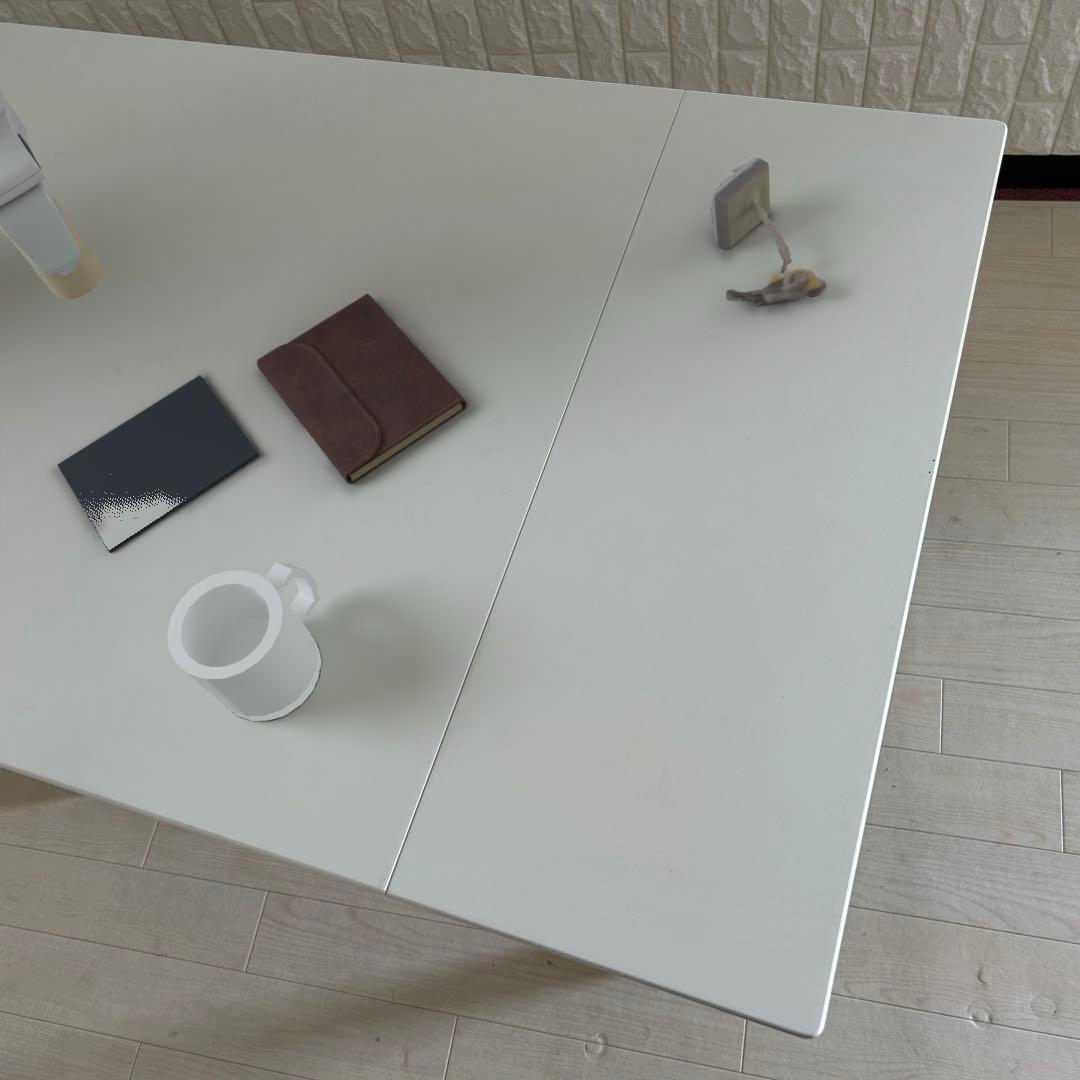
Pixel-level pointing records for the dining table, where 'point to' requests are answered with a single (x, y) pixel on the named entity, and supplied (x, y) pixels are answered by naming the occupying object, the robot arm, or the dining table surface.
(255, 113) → the dining table surface
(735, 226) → the decorative sculpture
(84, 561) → the dining table surface
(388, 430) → the notebook
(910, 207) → the dining table surface
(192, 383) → the mat
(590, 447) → the dining table surface
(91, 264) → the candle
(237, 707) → the mug
